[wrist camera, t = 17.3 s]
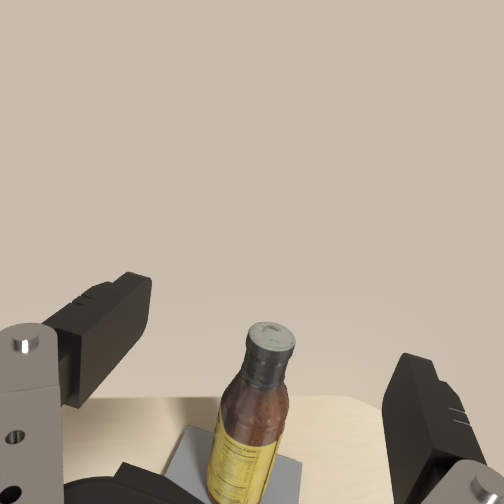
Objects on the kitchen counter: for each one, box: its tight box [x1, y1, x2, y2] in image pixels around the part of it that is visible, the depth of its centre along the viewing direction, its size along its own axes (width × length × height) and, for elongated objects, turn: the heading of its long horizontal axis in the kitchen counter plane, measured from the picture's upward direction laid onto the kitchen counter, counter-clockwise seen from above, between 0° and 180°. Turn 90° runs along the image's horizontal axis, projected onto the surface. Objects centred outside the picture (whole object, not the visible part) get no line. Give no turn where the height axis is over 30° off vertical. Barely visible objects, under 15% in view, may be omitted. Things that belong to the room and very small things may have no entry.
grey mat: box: [165, 425, 302, 504], centre depth 41 cm, size 14×12×1 cm
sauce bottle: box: [206, 322, 295, 504], centre depth 37 cm, size 7×6×20 cm
